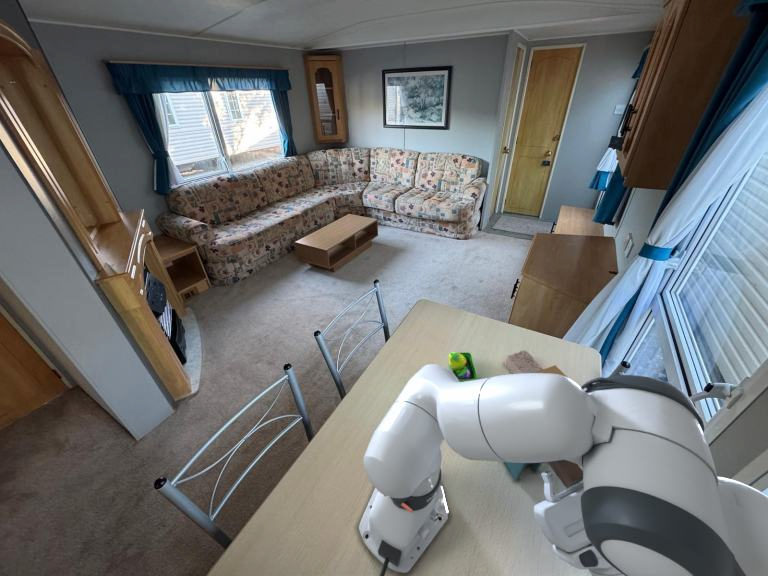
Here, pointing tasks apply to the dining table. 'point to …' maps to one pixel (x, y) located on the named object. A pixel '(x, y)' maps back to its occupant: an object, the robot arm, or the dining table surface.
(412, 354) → the dining table surface
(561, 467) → the block
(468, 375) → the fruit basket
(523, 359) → the brick
